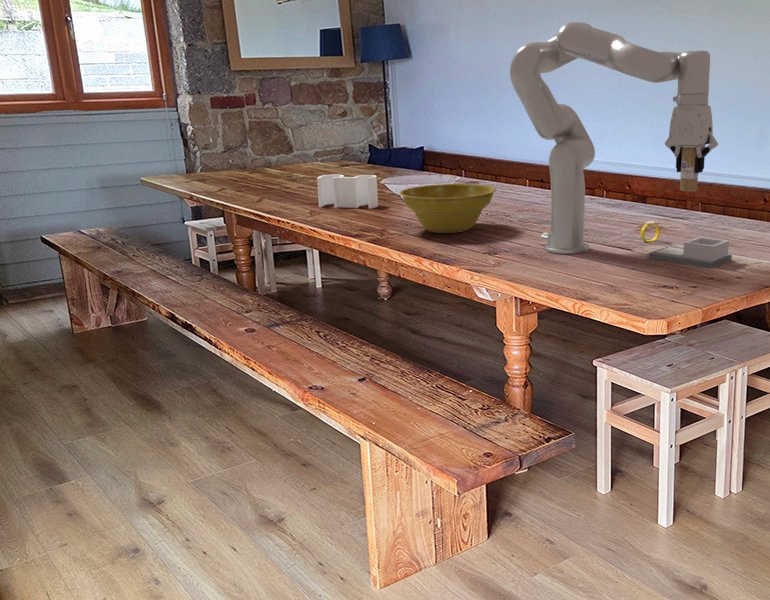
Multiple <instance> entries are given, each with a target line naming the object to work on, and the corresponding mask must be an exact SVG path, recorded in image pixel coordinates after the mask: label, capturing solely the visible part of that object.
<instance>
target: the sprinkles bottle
mask: <svg viewBox="0 0 770 600" xmlns="http://www.w3.org/2000/svg"><path fill="white" fill-rule="evenodd" d="M695 158H697V151H696V146H682V161H681V172H680V175H679V176H680V183H679V191H682V192H687V193H688V192H696V191H698V189H699V188H698V179H699V173H695Z"/></svg>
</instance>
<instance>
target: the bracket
mask: <svg viewBox="0 0 770 600" xmlns="http://www.w3.org/2000/svg"><path fill="white" fill-rule="evenodd" d="M377 178H378V177H377V175H375V174H361V175H356V176H345V175H343V174H337V173H335V174H323V175H319V176H318V177H317V178H316V181H317V182H316V183H317V195H318V196H317V197H318V198H317V199H318V207H319V208H323V207H324V206H327V205H333V206H334V207H333V208H334V209H338V208H350V209H351V208H352V209H353V208H354V209H358V208H359V207H361V206H368V209H375V208H377V207H379V200H378V199H379V197H378V181H377V180H378V179H377Z"/></svg>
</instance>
